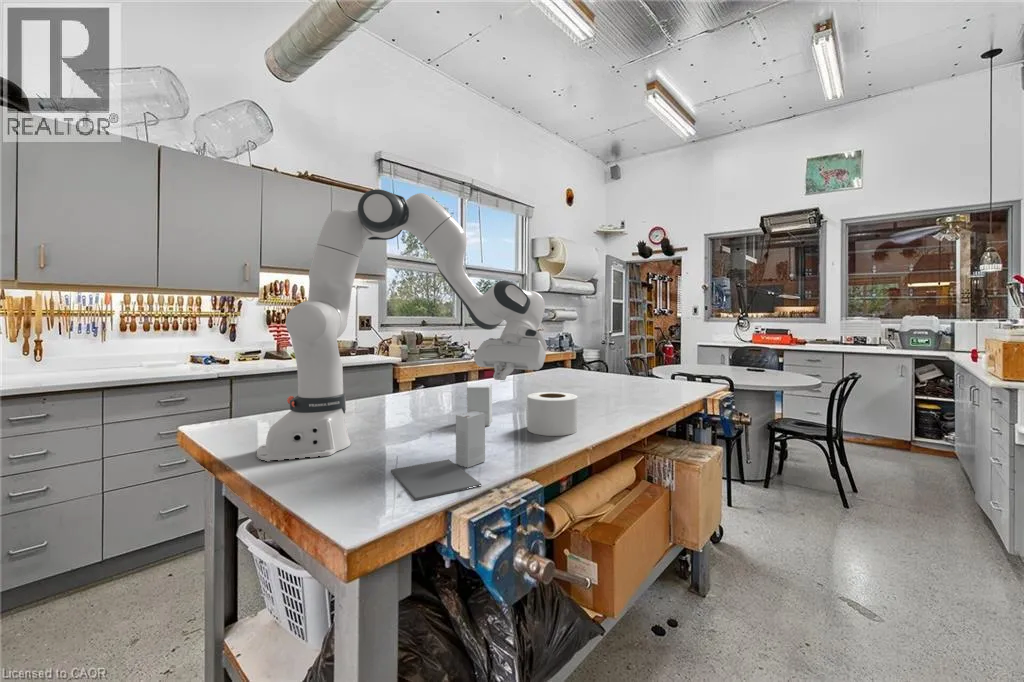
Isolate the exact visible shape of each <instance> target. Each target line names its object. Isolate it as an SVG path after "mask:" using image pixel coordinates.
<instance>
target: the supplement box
mask: <svg viewBox="0 0 1024 682" xmlns="http://www.w3.org/2000/svg"><path fill="white" fill-rule="evenodd" d="M466 400H467V401H466V405H467V406H466V408H467V409H466V413H467V412H472V411H477V412H482V413H485V427H490V426H491V424H492V422H493V384H492V383H470V384H469V385H468V386H467V387H466Z"/></svg>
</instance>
